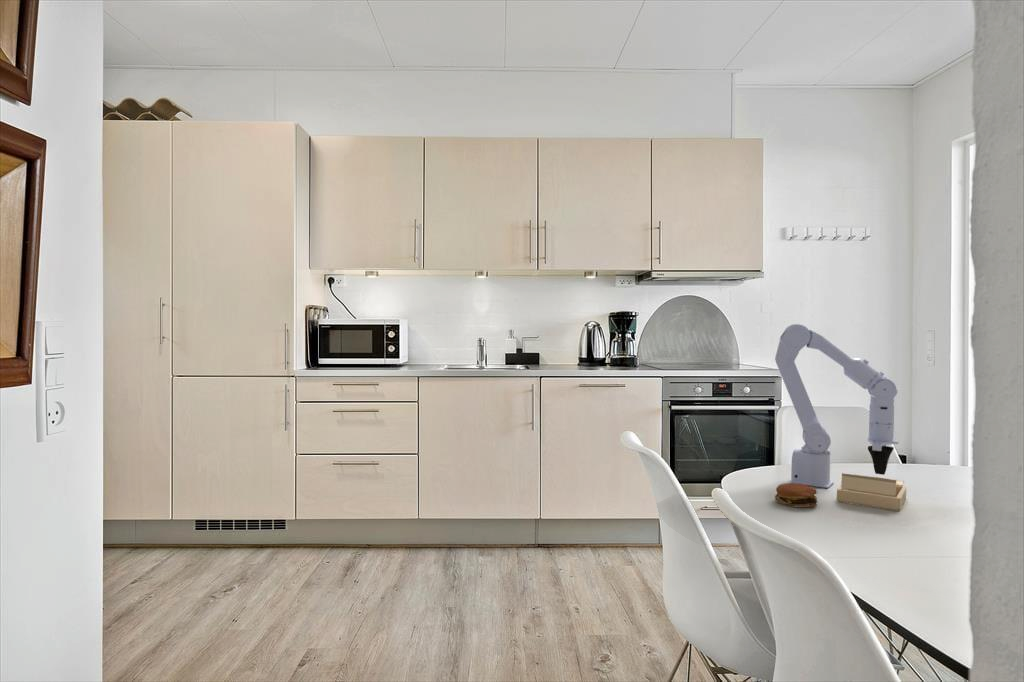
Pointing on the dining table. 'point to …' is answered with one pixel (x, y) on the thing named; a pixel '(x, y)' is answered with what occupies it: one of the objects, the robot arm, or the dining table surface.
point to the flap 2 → (898, 482)
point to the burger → (796, 495)
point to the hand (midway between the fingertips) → (880, 473)
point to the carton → (873, 498)
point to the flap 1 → (868, 484)
